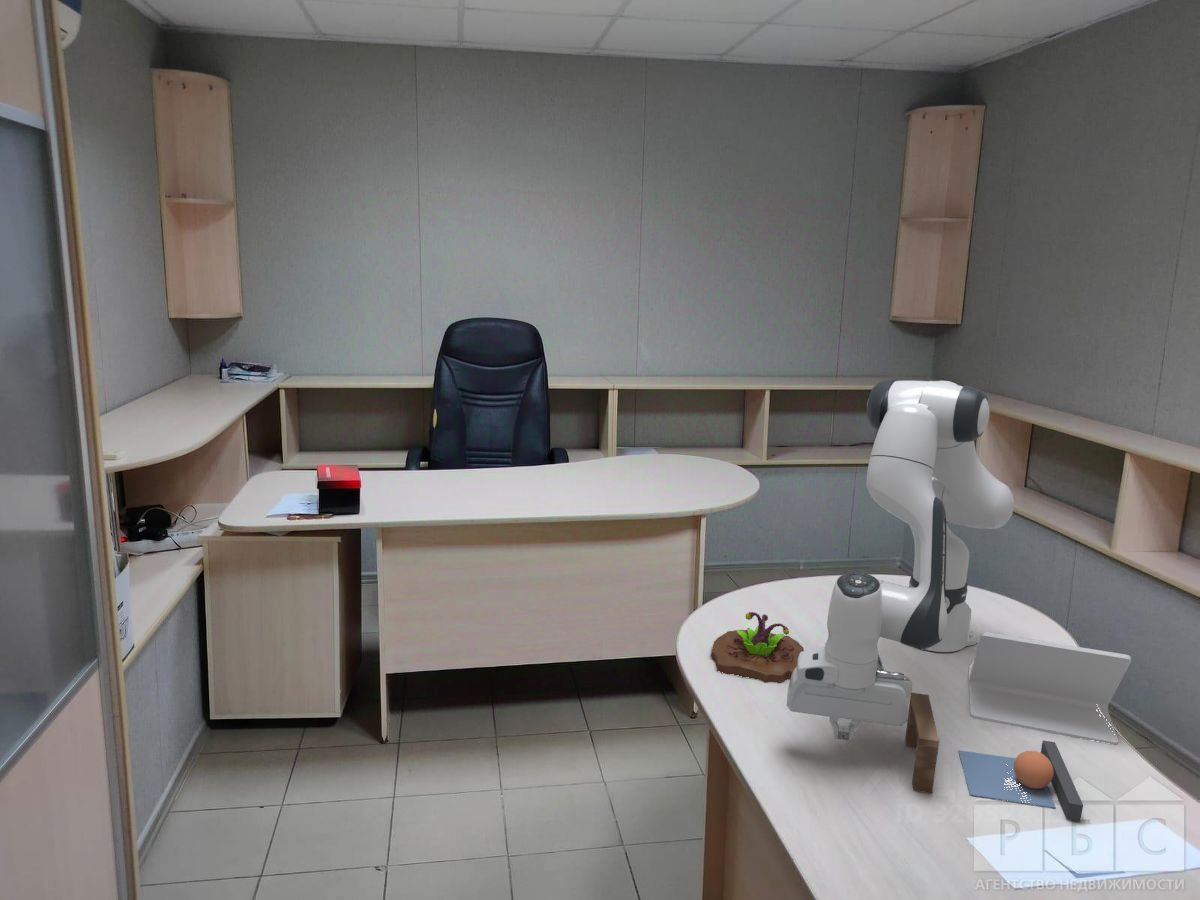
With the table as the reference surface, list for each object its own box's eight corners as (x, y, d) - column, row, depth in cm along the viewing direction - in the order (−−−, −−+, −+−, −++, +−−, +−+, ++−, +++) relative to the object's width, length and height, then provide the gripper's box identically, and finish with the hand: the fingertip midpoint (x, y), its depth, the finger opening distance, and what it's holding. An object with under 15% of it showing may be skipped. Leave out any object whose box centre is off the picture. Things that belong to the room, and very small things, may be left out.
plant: (713, 635, 202) (716, 589, 200) (802, 643, 199) (806, 597, 197) (708, 678, 183) (711, 628, 181) (806, 689, 180) (811, 638, 177)
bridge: (913, 790, 148) (919, 738, 146) (904, 740, 162) (910, 692, 160) (932, 793, 148) (939, 741, 145) (922, 742, 162) (928, 694, 159)
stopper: (1040, 755, 159) (1042, 740, 158) (1052, 757, 158) (1054, 742, 158) (1066, 819, 142) (1069, 803, 141) (1080, 821, 141) (1083, 805, 141)
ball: (1052, 775, 152) (1014, 778, 154) (1045, 742, 151) (1007, 746, 153) (1060, 794, 146) (1020, 797, 148) (1053, 759, 146) (1014, 763, 147)
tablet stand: (1118, 747, 162) (1135, 662, 158) (970, 719, 170) (982, 637, 166) (1101, 698, 179) (1116, 620, 174) (967, 675, 187) (977, 599, 183)
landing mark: (958, 751, 160) (958, 750, 159) (1037, 762, 157) (1037, 761, 157) (969, 795, 147) (970, 794, 147) (1055, 808, 144) (1055, 807, 144)
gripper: (911, 665, 154) (903, 736, 158) (790, 651, 159) (785, 720, 163) (915, 684, 148) (906, 757, 152) (789, 668, 153) (783, 739, 157)
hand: (842, 737), depth 157 cm, fingers closed
